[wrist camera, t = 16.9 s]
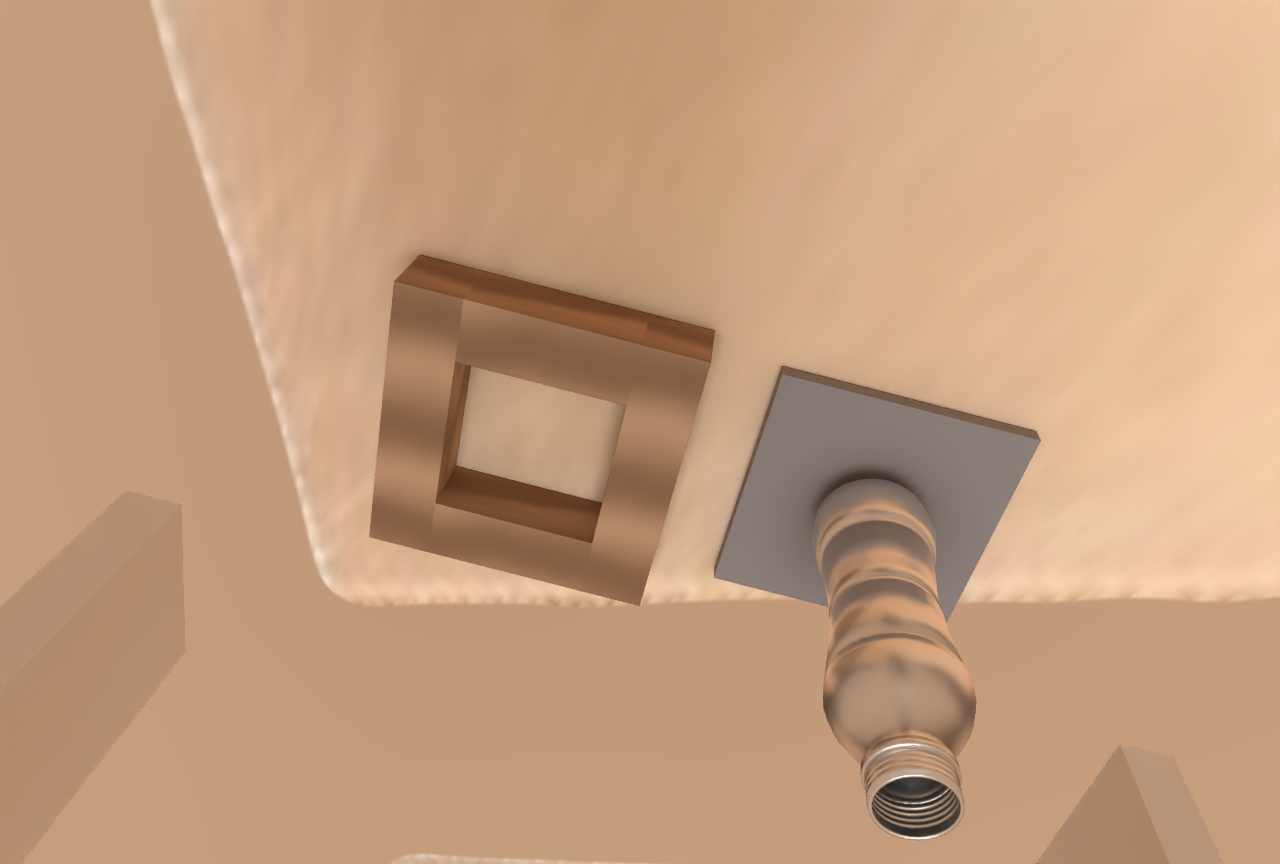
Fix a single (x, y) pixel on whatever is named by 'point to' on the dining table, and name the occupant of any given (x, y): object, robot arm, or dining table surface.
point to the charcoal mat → (867, 449)
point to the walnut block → (550, 355)
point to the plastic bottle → (892, 658)
